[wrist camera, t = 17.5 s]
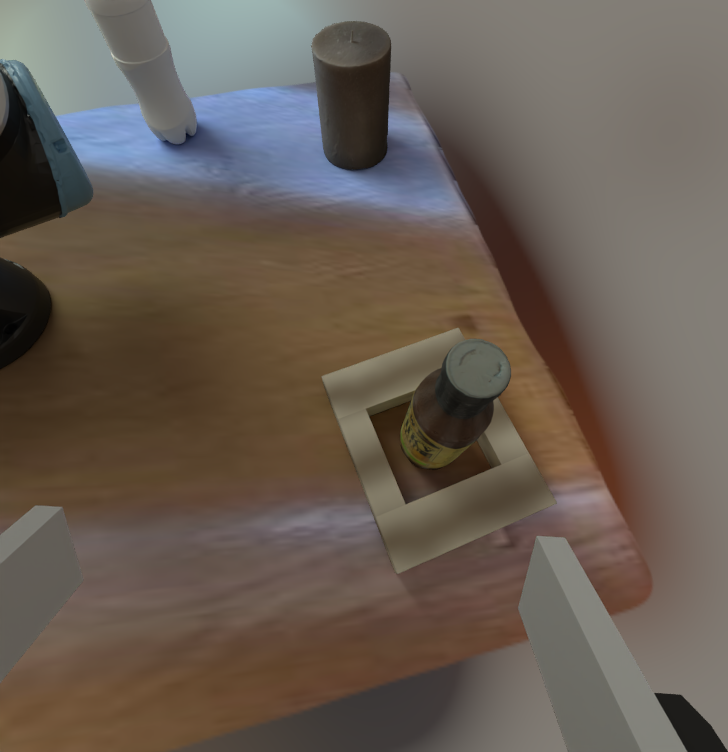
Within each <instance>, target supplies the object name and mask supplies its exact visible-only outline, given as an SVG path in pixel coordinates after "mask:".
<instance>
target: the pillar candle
mask: <svg viewBox="0 0 728 752" xmlns="http://www.w3.org/2000/svg"><path fill="white" fill-rule="evenodd" d="M311 47H312V53H313V61H314V69H315V78H316V88H317V97H318V106H319V116H320V123H321V133H322V142H323V149H324V153H325V156H326V158H327V159H328V160H329V161H330V162H331V163H333V164H334V165H336V166H338V167H341V168H345V169H350V170H352V169H353V170H355V169H363V168H369V167H372V166H374V165H376V164H377V163H379V162H380V161H381V160H382V159H383V158H384V156H385V155H386V153H387V135H388V105H389V83H390V61H391V40H390V38H389V35H388V34H387V33H386V32H385V31H384V30H383V29H382V28H380V27H378V26H376V25H373V24H370V23H367V22H359V21H347V22H341V23H334V24H332V25H330V26H327V27H325V28H324V29H322V30H321V32H319V33H318V34H316V35H315V37H314V38H313V42H312V46H311Z"/></svg>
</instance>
